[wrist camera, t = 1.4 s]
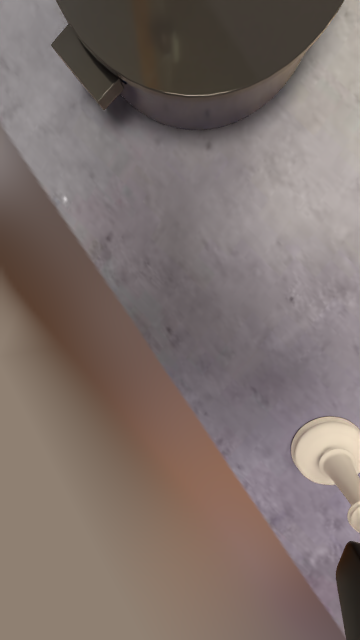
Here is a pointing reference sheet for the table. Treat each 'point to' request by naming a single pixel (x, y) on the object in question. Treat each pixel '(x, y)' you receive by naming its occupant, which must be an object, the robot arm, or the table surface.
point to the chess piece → (331, 458)
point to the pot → (189, 53)
